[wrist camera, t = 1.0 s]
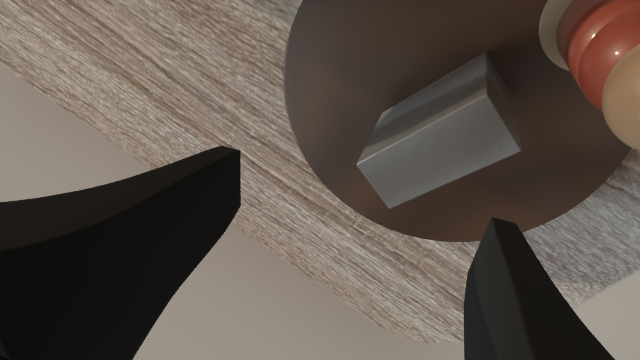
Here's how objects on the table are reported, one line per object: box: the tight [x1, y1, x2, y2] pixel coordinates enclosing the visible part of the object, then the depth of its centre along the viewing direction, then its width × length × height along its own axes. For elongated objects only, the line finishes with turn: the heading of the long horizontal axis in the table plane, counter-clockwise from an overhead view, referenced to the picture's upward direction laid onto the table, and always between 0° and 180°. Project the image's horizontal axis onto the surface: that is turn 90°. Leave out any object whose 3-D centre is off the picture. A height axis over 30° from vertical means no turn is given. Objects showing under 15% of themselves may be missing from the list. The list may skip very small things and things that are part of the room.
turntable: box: [283, 0, 640, 242], centre depth 15 cm, size 15×15×10 cm
